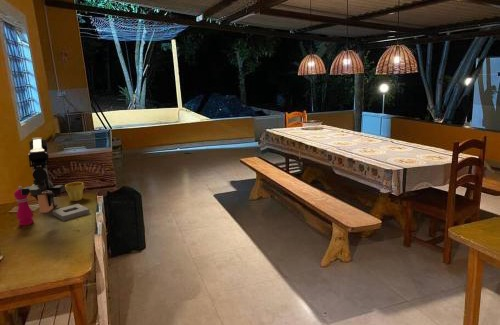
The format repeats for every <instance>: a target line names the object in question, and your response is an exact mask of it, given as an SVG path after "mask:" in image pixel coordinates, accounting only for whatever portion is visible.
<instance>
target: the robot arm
mask: <svg viewBox="0 0 500 325" xmlns="http://www.w3.org/2000/svg"><path fill="white" fill-rule="evenodd" d="M29 149H30V151H29V153H28V154H27V155H28V163H29V168H32V170H33V171H32V177H33V180H32V182H33V183H32V185H31V186H29V185H28V186H25V187H22V190H21V194H22V195H28V196H30V197H33V198H35V200H36V201H37V202H38V197H37V195H41V194H42V192H48V194H47V197H48V204H49V207H50V206H51V204H52V203H53V209H54V208H55V207H57V206H58V203H55V198H56V197H58V194H62V193H63V192H65V191H66V190H65V185H64V184H57V185H55V186H54V183H53V182H52V181H51V180H50V179H51V177H50V176H49V173H48V166H49V164H50V158H49V154H48V150H49V145H48V141H47V140H46V139H44V138H43V137H32V138H31V141H29ZM29 194H30V195H29ZM54 197H55V198H54Z"/></svg>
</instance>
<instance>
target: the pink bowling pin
mask: <svg viewBox="0 0 500 325" xmlns="http://www.w3.org/2000/svg"><path fill="white" fill-rule="evenodd" d="M22 189H23V186H21V185H18V188H17V189H16V190H14V194H13V195H14V197H15V198H16V203H17V204H18V205H17V206H18V207H17V208H18V209H17V211H16V218H17V220H19V221H18V224H19V226H28V225H31V224H33V223H34V218H33V216H34V212H33V210H32V208H31V207H30V206H29V203H28V201H29V197H28V196H29V194H28V195H22V194H21V190H22Z"/></svg>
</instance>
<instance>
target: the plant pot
mask: <svg viewBox="0 0 500 325" xmlns="http://www.w3.org/2000/svg"><path fill="white" fill-rule="evenodd" d="M64 186H65V191H66V193H67V194H68V198H69V200H70V201H71V202H76V201H81V200H83V193H84V189H85V185H84V182H82V181H74V182H70V183H66V184H65V185H64Z"/></svg>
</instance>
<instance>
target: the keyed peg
mask: <svg viewBox="0 0 500 325" xmlns="http://www.w3.org/2000/svg"><path fill="white" fill-rule="evenodd" d="M47 194H48V192H42V194H41V195H37V197H38V201H37V202H38V207H39V208H38V209H39V213H40V214H41V213H49V212H51V210H54V208H53V203H52V204H51V206H50V207H49V204H48V197H47Z"/></svg>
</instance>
